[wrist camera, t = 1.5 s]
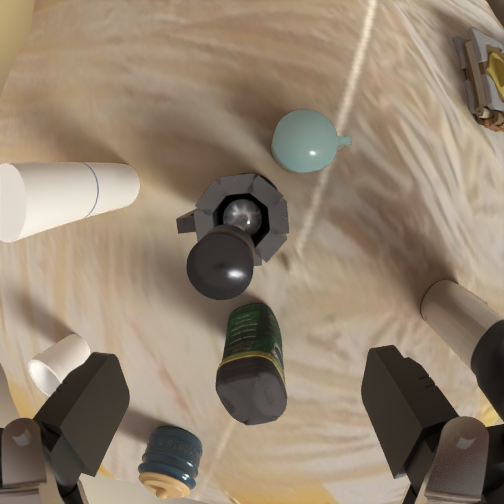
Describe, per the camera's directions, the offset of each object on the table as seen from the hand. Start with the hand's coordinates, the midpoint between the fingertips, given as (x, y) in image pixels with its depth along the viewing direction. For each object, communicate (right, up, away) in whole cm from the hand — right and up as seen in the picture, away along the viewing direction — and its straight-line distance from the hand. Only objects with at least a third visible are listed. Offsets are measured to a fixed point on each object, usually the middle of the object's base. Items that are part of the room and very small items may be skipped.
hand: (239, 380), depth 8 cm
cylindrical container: (-21, +15, +34) cm, 42 cm away
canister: (-18, -42, +49) cm, 66 cm away
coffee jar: (+1, -9, +39) cm, 40 cm away
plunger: (-1, +8, +23) cm, 24 cm away
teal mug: (+8, +19, +32) cm, 38 cm away
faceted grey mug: (-1, +11, +34) cm, 36 cm away
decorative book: (+52, +40, +25) cm, 70 cm away
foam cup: (-36, -16, +43) cm, 58 cm away
